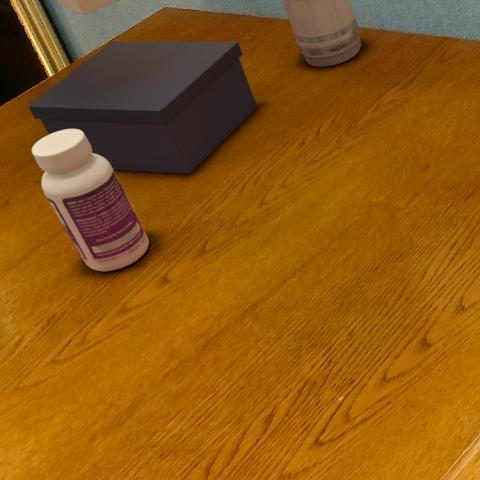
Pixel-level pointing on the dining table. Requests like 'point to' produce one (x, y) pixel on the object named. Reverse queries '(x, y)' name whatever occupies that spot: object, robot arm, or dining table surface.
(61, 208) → the pill bottle
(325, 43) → the camera lens
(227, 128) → the storage box
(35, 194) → the dining table surface
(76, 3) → the cream box
